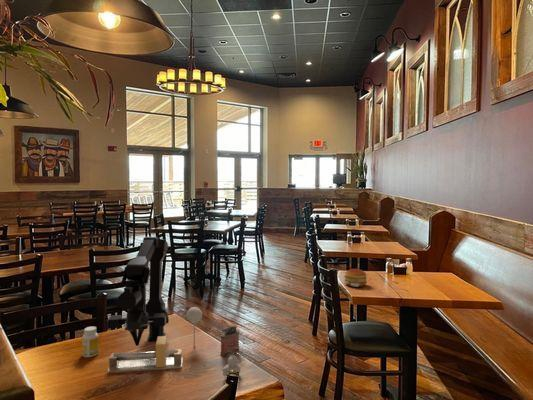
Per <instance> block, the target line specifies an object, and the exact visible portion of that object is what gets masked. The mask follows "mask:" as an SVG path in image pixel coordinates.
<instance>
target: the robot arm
mask: <svg viewBox="0 0 533 400" xmlns="http://www.w3.org/2000/svg"><path fill="white" fill-rule="evenodd" d="M142 239H143V240H142V244H141V246H140V248H139V250H138V253H137V254H136V256H135V257H134V258H132V259H130V260H129V261H128V263H127V264H126V266H125V267H124V269H123V272H122V273H123V274H122V278H121V283H120V287H124V288H123V292H121V293H120V295H118V298H117V304H118V306H119V307H120V308H121V309H122V310H125V311H127V313H126V317H123V315H122V314H115V315H114V314H113V315H110V316H109V317H108V319H107V320H106V329H107V330H111V329H112V330H113V329H116V330H117V328H119V326H120V325H125V327H124V330H125V331H128V332H129V333H130V335H131V337H132V340H133V342H134V344H135V346H136V347H139V346H140V345H139V344H140V342H141V339H142V336H143V333H144V331H145V330H147V329H148V336H147V339H146V341H147V342H152V341H153V342H155V341H156V342H157V338H158V336H166V332H164V331H165V326H166V325H167V324H169V318H170V317H169V313H168V310H167V308H166V303H165V302H164V299H162V280H163V279H162V276H163V275H162V274H163V272H162V271H163V264H162V263H163V260H164V258H165V257H166V255H167V251H168V249H169V248H168V247H169V244H168V242H167V241H166V239H164V238H163V239H162V238H159V237H157V236H145V237H143V238H142ZM148 283H149V291H148V292H149V296H148V297H149V298H148V301H147V298H146V297H147V287H146V286H147V284H148Z"/></svg>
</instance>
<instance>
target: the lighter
mask: <svg viewBox="0 0 533 400" xmlns="http://www.w3.org/2000/svg"><path fill="white" fill-rule="evenodd" d="M237 327H238V326H237V324H236V325H235V324H234V325H231V324H230V325H228V327H223V328H222V329H221V330H222V333H221V334H220V352H219V353H220V357H223V358H225V357H230V355H231V354H232V355H233V353H234V355H235V354H236V353H238V352H240V347H239V345H240V343H239V341H240V335H239V334H240V330H239V329H237Z"/></svg>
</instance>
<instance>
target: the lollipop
mask: <svg viewBox="0 0 533 400" xmlns="http://www.w3.org/2000/svg"><path fill="white" fill-rule="evenodd" d="M185 317H186V319H187V321H188V322H190V323H192V324H193V347H195V346H196V323H199V322H200V321H201V320H202V317H203V312H202V310H201V309H200V307H197V306H192V307H190V308H189V309H188V310H187V311H186V314H185Z"/></svg>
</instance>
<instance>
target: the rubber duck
mask: <svg viewBox="0 0 533 400" xmlns="http://www.w3.org/2000/svg"><path fill="white" fill-rule="evenodd" d="M238 363H239V360H238V358H237V356H235V354H234V353H233V354H231V355H229V356H228V359H227V364H226V365H225V366H224V367H222V369H221V370H222V376H224V377H228V376H227V372H228V371H229V370H233V371H239V372H240V373H241V366H240V365H239V364H238Z"/></svg>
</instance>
